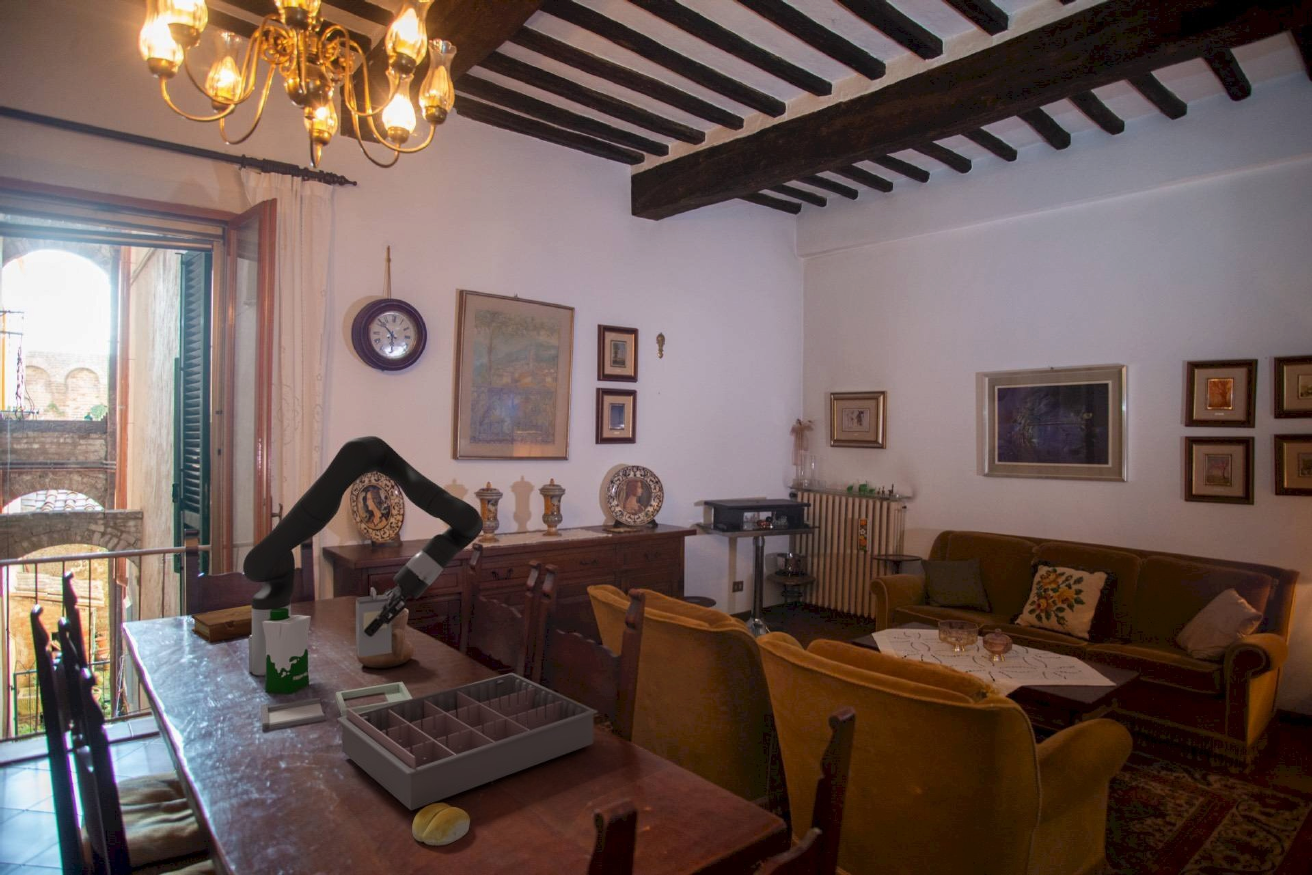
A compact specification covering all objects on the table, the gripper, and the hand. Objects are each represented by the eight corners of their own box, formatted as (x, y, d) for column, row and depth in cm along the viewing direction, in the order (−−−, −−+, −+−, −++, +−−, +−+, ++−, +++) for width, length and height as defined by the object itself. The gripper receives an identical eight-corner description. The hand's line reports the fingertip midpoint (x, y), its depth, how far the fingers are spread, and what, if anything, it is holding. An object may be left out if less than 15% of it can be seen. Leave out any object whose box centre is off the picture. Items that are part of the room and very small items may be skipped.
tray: (402, 691, 182) (402, 681, 182) (412, 709, 171) (412, 698, 171) (335, 702, 175) (335, 692, 175) (342, 722, 163) (342, 710, 163)
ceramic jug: (346, 662, 205) (346, 610, 204) (397, 650, 215) (397, 601, 214) (373, 679, 192) (373, 625, 191) (426, 666, 202) (426, 614, 201)
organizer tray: (598, 750, 150) (598, 701, 150) (408, 822, 123) (407, 762, 122) (512, 706, 173) (512, 663, 173) (336, 758, 146) (336, 707, 146)
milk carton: (283, 684, 187) (283, 605, 187) (315, 687, 185) (315, 606, 185) (258, 697, 178) (257, 613, 178) (291, 699, 176) (291, 615, 176)
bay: (319, 706, 173) (319, 695, 172) (324, 724, 162) (324, 712, 162) (261, 715, 167) (261, 704, 167) (262, 735, 156) (262, 723, 156)
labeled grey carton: (387, 646, 176) (387, 584, 176) (391, 652, 172) (391, 589, 172) (356, 651, 173) (355, 588, 173) (359, 657, 169) (358, 592, 168)
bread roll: (440, 813, 125) (440, 790, 125) (478, 829, 121) (478, 804, 121) (399, 836, 118) (399, 811, 118) (438, 853, 114) (438, 827, 114)
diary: (210, 644, 223) (209, 625, 223) (191, 632, 236) (191, 614, 235) (290, 629, 239) (290, 611, 239) (268, 618, 252) (268, 601, 252)
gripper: (401, 559, 182) (348, 614, 176) (412, 569, 169) (356, 628, 164) (423, 578, 185) (372, 633, 179) (436, 589, 172) (382, 649, 167)
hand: (365, 630), depth 171 cm, fingers closed on labeled grey carton, 5 cm apart
